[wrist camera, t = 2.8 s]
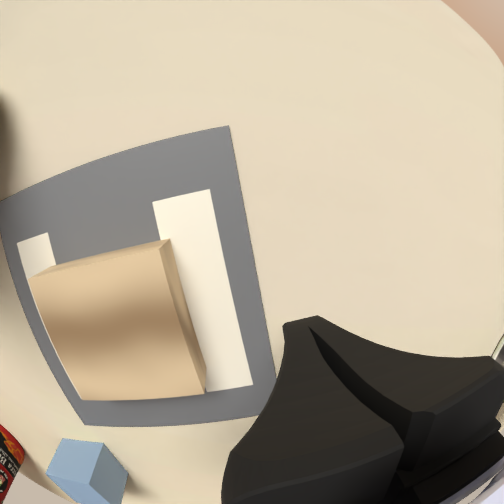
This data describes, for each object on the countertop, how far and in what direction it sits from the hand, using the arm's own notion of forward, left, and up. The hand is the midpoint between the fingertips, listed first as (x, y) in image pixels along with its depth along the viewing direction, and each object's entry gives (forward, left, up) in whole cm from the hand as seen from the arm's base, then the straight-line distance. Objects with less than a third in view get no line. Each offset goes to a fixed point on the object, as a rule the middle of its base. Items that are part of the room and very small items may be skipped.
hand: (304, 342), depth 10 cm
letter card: (0, +9, -6) cm, 11 cm away
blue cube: (-14, +19, -6) cm, 24 cm away
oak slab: (0, +9, -5) cm, 11 cm away
